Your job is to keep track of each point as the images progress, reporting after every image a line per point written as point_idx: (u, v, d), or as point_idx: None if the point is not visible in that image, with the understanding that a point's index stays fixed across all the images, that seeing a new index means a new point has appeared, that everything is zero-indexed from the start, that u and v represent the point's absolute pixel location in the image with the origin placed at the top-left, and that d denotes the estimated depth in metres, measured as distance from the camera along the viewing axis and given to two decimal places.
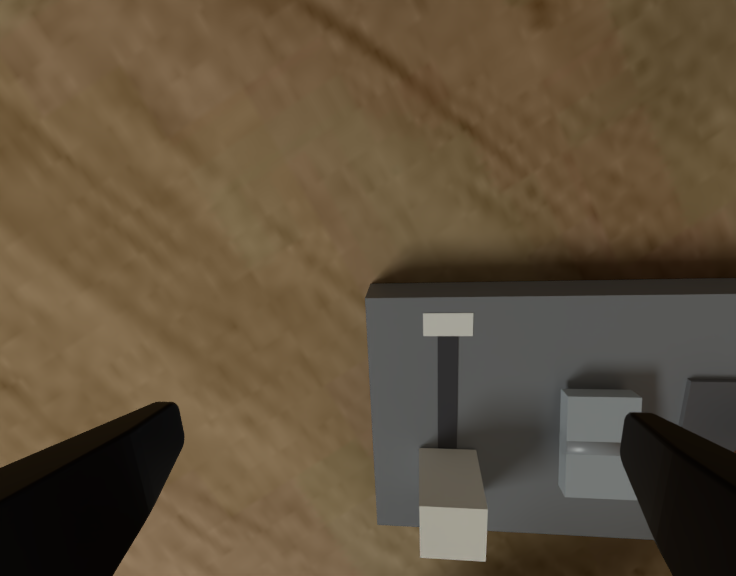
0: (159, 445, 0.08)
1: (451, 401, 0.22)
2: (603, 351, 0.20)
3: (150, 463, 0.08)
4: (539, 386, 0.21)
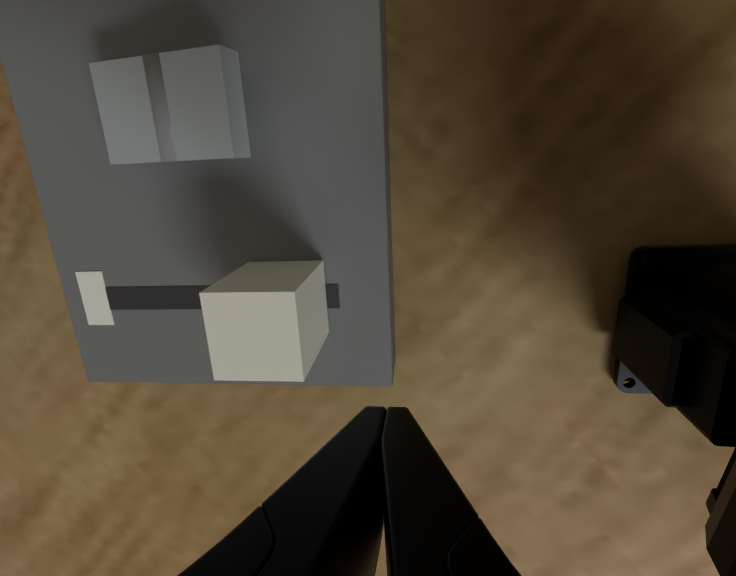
0: None
1: (189, 292, 0.17)
2: (83, 112, 0.16)
3: None
4: (146, 187, 0.16)
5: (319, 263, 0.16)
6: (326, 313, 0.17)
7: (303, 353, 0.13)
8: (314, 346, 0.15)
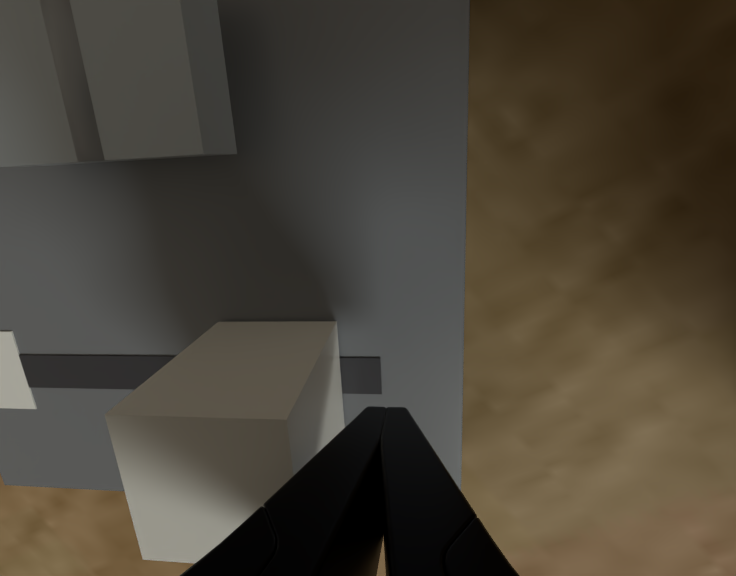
0: None
1: (145, 364, 0.11)
2: None
3: None
4: (72, 203, 0.10)
5: (331, 329, 0.10)
6: (341, 403, 0.11)
7: None
8: None
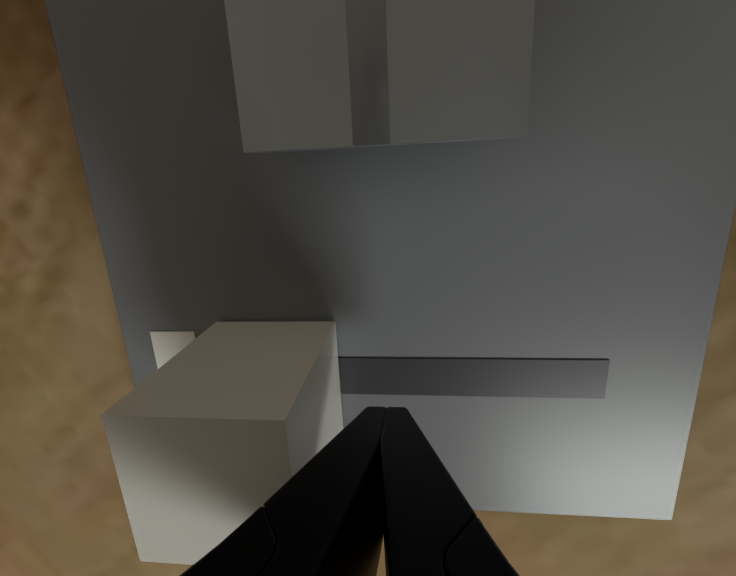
0: None
1: (340, 367, 0.11)
2: (181, 61, 0.09)
3: None
4: (283, 194, 0.09)
5: (329, 329, 0.10)
6: (339, 403, 0.10)
7: None
8: None
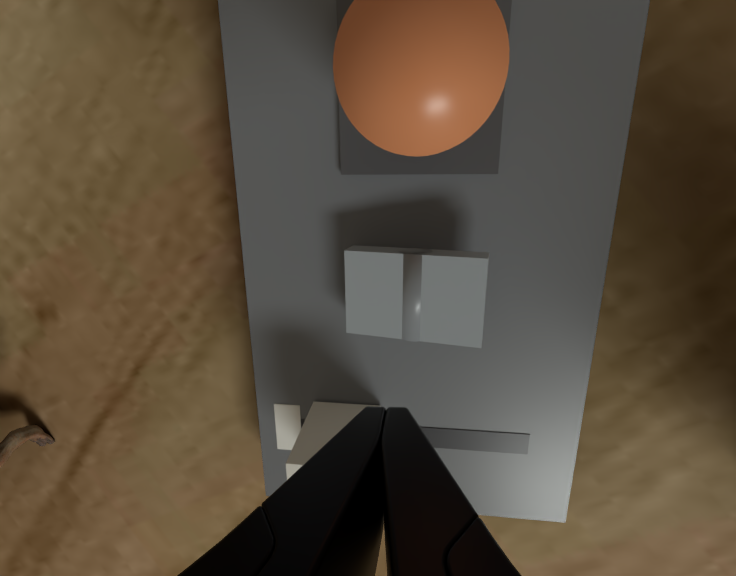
0: None
1: None
2: (310, 274, 0.17)
3: None
4: (358, 339, 0.18)
5: None
6: None
7: None
8: None
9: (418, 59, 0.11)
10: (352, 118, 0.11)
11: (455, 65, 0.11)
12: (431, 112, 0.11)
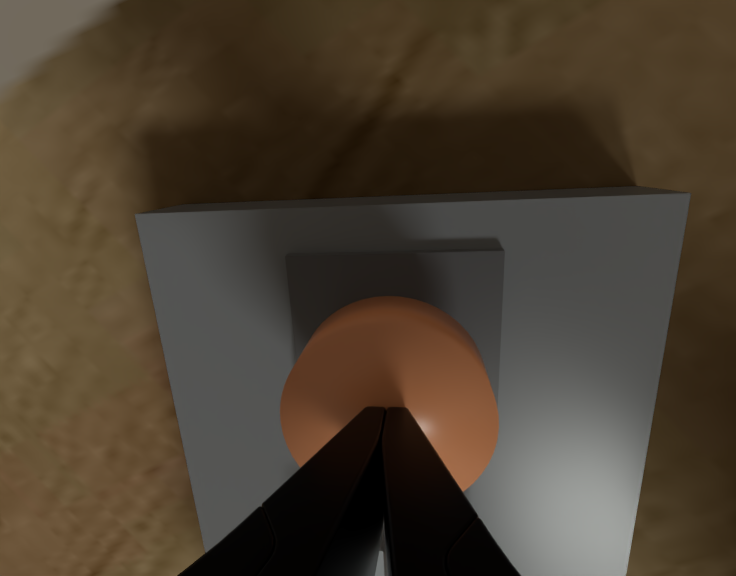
0: None
1: None
2: None
3: None
4: None
5: None
6: None
7: None
8: None
9: None
10: None
11: (432, 428, 0.08)
12: None
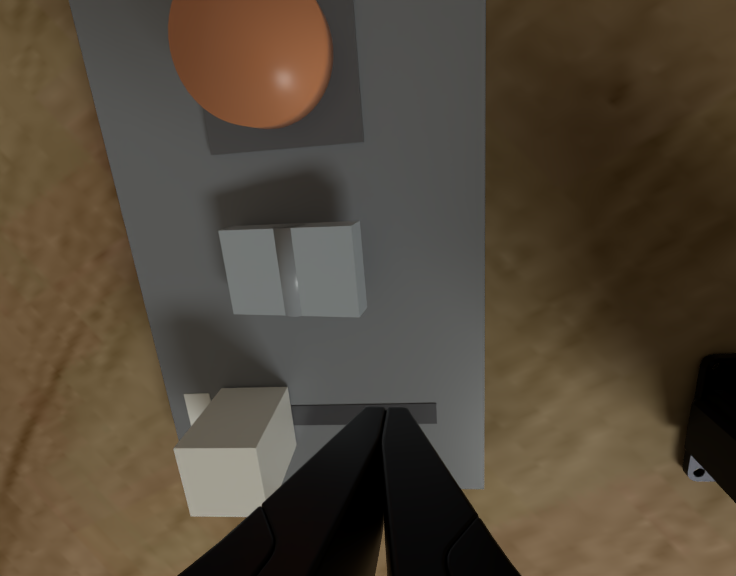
0: None
1: (292, 410, 0.19)
2: (199, 259, 0.17)
3: None
4: (256, 321, 0.18)
5: (283, 393, 0.18)
6: (292, 431, 0.19)
7: (267, 492, 0.15)
8: (279, 474, 0.17)
9: (243, 36, 0.12)
10: (195, 95, 0.12)
11: (277, 39, 0.12)
12: (263, 84, 0.12)
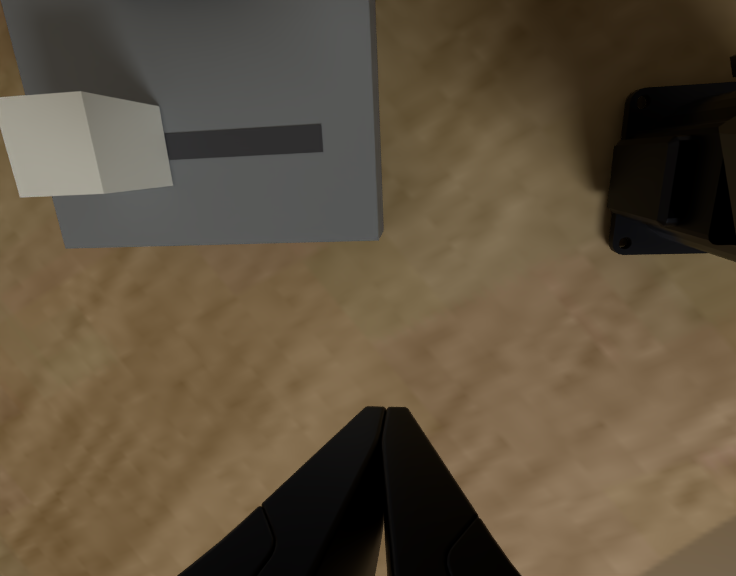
0: None
1: (167, 141, 0.17)
2: None
3: None
4: (121, 20, 0.16)
5: (150, 105, 0.16)
6: (166, 162, 0.17)
7: (103, 165, 0.13)
8: (133, 176, 0.15)
9: None
10: None
11: None
12: None
